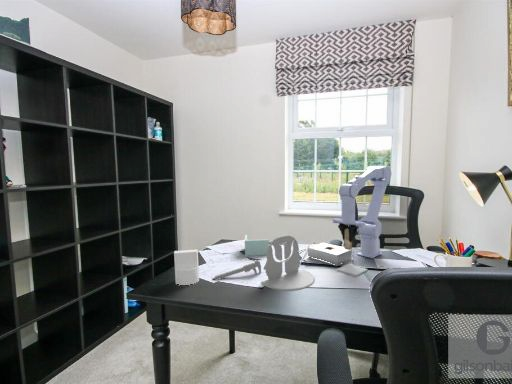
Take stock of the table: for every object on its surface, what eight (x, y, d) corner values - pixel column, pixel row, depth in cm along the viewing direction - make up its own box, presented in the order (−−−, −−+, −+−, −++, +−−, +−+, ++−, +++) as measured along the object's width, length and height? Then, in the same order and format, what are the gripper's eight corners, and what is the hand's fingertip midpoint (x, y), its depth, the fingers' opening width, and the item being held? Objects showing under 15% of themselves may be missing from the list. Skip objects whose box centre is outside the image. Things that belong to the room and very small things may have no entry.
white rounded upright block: (174, 286, 104) (172, 255, 103) (177, 277, 113) (175, 248, 112) (198, 284, 105) (197, 254, 104) (199, 275, 114) (198, 247, 113)
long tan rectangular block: (347, 247, 127) (347, 228, 126) (352, 248, 125) (352, 229, 124) (344, 248, 125) (344, 229, 124) (349, 250, 123) (349, 230, 122)
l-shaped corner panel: (268, 254, 139) (268, 240, 138) (245, 255, 139) (244, 240, 138) (267, 247, 151) (267, 234, 150) (245, 248, 151) (245, 234, 150)
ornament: (303, 270, 117) (303, 231, 116) (326, 280, 106) (326, 238, 105) (260, 283, 106) (259, 240, 104) (281, 296, 95) (280, 248, 93)
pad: (347, 265, 122) (347, 263, 122) (367, 270, 115) (367, 269, 115) (336, 270, 116) (336, 269, 116) (356, 276, 109) (356, 275, 109)
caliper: (260, 272, 116) (260, 258, 116) (261, 273, 115) (260, 259, 115) (211, 280, 110) (211, 264, 110) (212, 281, 109) (211, 265, 109)
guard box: (322, 252, 141) (322, 242, 140) (351, 259, 129) (351, 249, 128) (307, 257, 133) (307, 247, 132) (337, 266, 121) (337, 255, 120)
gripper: (329, 210, 126) (329, 239, 127) (359, 213, 115) (358, 245, 116) (337, 208, 131) (337, 236, 132) (367, 211, 120) (366, 242, 121)
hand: (348, 240), depth 124 cm, fingers closed on long tan rectangular block, 2 cm apart
